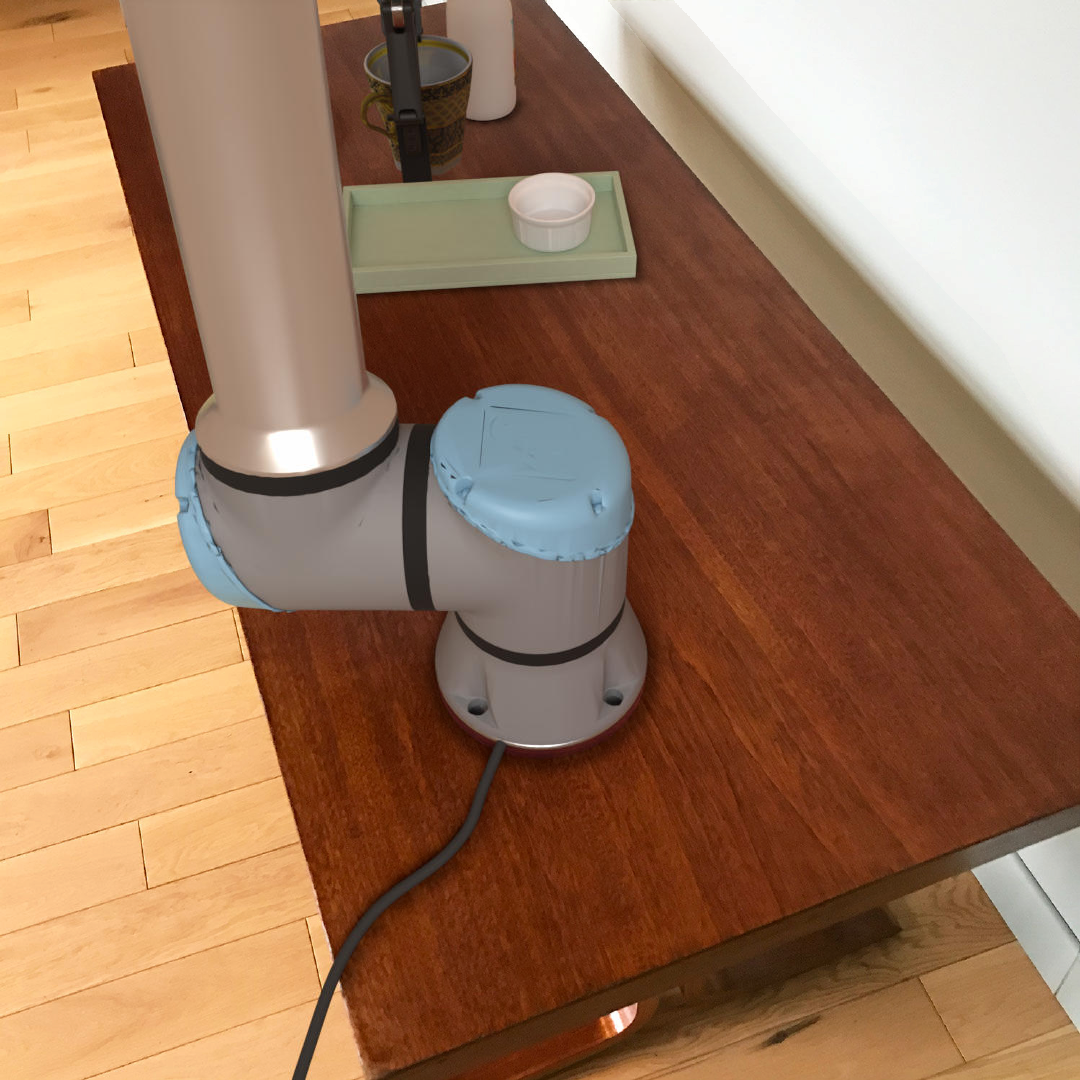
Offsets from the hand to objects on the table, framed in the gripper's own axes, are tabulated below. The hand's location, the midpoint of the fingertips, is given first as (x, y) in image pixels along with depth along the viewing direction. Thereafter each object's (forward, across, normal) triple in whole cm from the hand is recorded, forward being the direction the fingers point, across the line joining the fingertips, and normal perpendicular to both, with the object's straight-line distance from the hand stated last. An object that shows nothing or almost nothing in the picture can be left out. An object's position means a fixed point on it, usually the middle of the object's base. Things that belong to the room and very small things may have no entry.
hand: (417, 149), depth 108 cm
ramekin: (+10, 0, -13) cm, 17 cm away
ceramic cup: (+2, -1, 0) cm, 2 cm away
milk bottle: (+11, +28, -7) cm, 31 cm away
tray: (+11, 0, -6) cm, 12 cm away
